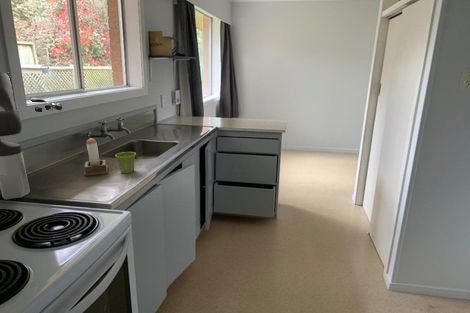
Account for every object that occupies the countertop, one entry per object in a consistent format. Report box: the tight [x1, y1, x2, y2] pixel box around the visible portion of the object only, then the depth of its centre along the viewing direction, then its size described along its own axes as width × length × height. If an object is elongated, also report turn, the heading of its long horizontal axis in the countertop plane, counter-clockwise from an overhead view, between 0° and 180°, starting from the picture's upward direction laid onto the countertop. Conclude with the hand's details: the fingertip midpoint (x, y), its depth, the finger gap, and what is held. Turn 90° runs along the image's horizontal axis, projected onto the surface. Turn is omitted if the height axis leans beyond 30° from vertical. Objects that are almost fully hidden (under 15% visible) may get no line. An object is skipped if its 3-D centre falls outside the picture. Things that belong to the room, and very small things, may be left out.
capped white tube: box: [86, 137, 101, 166], centre depth 152 cm, size 4×4×15 cm
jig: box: [84, 159, 108, 176], centre depth 153 cm, size 10×10×4 cm
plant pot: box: [115, 151, 137, 174], centre depth 152 cm, size 9×9×9 cm
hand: (51, 109), depth 146 cm, fingers open, 8 cm apart
